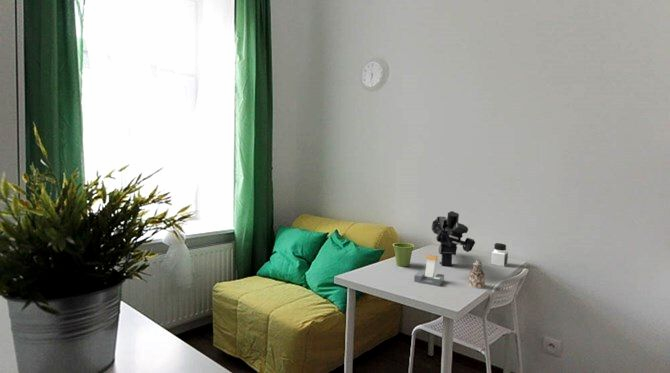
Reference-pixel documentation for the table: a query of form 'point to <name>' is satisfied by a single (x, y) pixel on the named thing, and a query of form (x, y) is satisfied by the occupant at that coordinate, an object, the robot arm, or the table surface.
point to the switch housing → (429, 278)
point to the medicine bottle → (499, 255)
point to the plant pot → (403, 253)
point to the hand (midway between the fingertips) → (459, 248)
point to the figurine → (477, 276)
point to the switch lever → (430, 265)
